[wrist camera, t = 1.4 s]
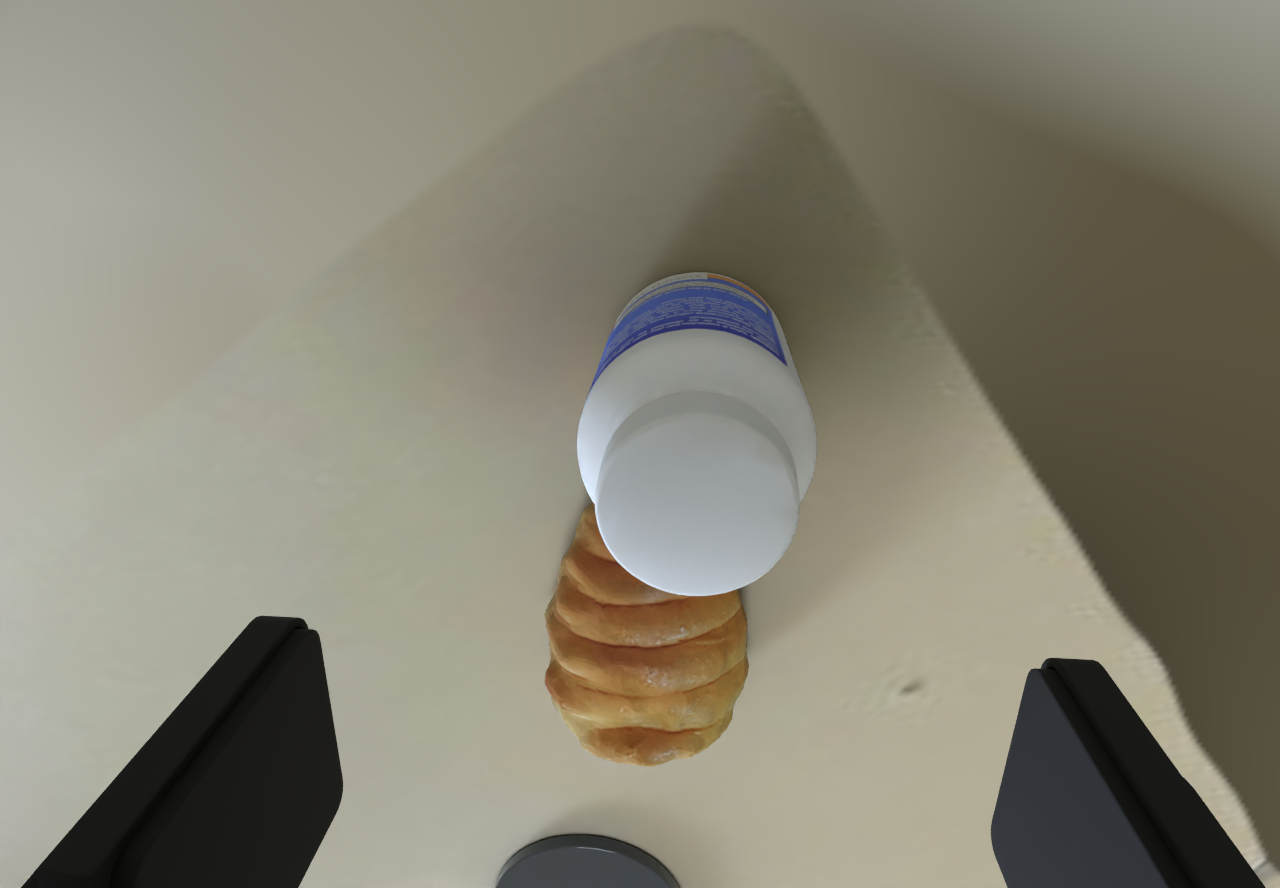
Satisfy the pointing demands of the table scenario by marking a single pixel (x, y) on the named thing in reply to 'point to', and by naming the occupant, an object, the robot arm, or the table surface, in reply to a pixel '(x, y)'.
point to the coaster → (583, 865)
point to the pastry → (640, 658)
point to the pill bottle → (697, 437)
